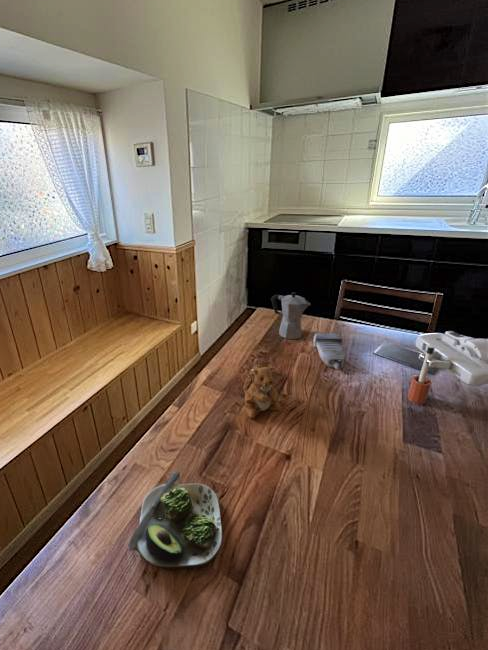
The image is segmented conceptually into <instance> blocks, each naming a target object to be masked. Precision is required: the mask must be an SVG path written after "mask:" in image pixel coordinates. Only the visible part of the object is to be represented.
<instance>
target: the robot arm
mask: <svg viewBox="0 0 488 650" xmlns="http://www.w3.org/2000/svg"><path fill="white" fill-rule="evenodd" d="M416 337H417V338H416V340H415V345H414V346H415V347H416V348H417V349H419V350H420V351H421V354H420V355H419V359H420V360H421V361H423V362H424V359H425V356H426V353H427V349H428V346H429V345H433V346H435V349H434V352H433V355H432V358H431V359H428V360H427V362H426V364H427V365H428V366H429V367H437V369H441V370H447V371H449V372H450V373H451V374H453V375H454V376H455V377H457V378H458V379H459V380H460V381H462V382H463V383H465V384H466V385H468V386H471V387H479V386H483V385H487V384H488V338H480V337H479V338H475V337H471V336H466V335H463V334H459V333H458V332H455V331H453V330H448V331H445V332H444V333H443V332H442V333H441V332H431V333H422V334H419V335H418V336H416Z"/></svg>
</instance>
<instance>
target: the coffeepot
mask: <svg viewBox="0 0 488 650" xmlns="http://www.w3.org/2000/svg"><path fill="white" fill-rule="evenodd" d="M296 294H297V293H296V292H294V291H293V292H292V291H291V294H287V295H282V294H281V295H280V294H274V295H273V296H272V297H270V301H271V304H272V307H273V312H274V313H275V314H276V315H280V314H282V318H281V323H280V326H279V330H278V335H279V336H280V337H282V338H283V337H284V339H286V340H298V339H300V338H302V337H303V335H302V322H301V318H302V317H303V314H304V311H305V310H306V309H307V308H308V307H309V306H310V307H311V302H309V301H308V300H306V298H305V297H302V296H300V295H296ZM277 300H278V301H280V302H281V311H282V313H281V311H278V306H277Z"/></svg>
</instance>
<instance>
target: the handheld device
mask: <svg viewBox="0 0 488 650" xmlns="http://www.w3.org/2000/svg"><path fill="white" fill-rule="evenodd" d="M312 341H313V348H314V349H317V353H318V355H319V357H320V359H321V360H322V362H323V364H325V365H326V366H327V367H328V368H333V369H335V370H337V371H340V370H341V369H342V368H344V367H345V365H346V363H347V352H346V351H345V349H344V346H343V345H342V344H343V338H342V337H341V335H339V334H336V333H325V332H324V333H319V332H318V333H315V334H314V336H313V340H312Z"/></svg>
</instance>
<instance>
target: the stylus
mask: <svg viewBox="0 0 488 650" xmlns="http://www.w3.org/2000/svg"><path fill="white" fill-rule="evenodd" d="M434 349H435V346H433V345H429V346H428V349H427V353H426V356H425V359H424V363H423V366H422V370H421V371H420V373H419V376H420V377H419V380H418V382H419V383H421V384H424V382H425V379H426V378H427V376H428V373H427V372H428V368H429V366H428V365H427V364H426V362H427V360H428V359H431V358H432V355H433V352H434Z"/></svg>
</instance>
